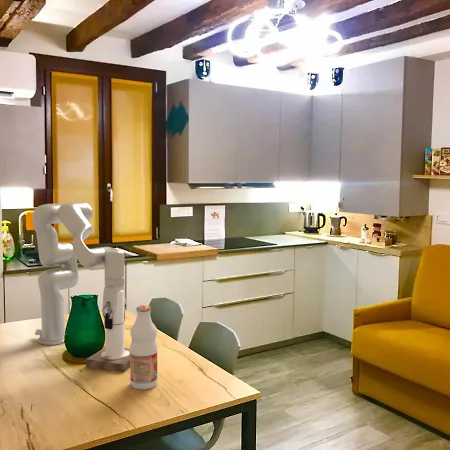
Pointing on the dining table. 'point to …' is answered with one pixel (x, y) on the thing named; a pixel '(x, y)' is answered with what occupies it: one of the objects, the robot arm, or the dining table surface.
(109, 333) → the cylindrical container
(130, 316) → the dining table surface
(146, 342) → the fruit juice
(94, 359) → the walnut plinth
